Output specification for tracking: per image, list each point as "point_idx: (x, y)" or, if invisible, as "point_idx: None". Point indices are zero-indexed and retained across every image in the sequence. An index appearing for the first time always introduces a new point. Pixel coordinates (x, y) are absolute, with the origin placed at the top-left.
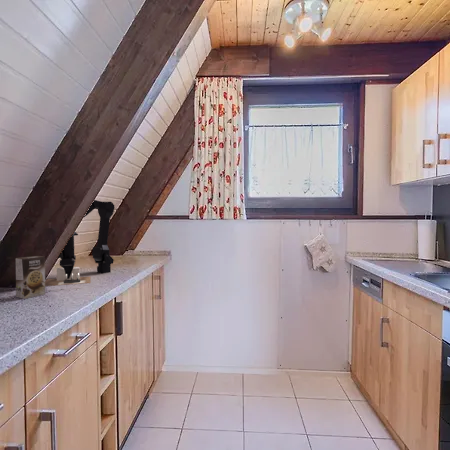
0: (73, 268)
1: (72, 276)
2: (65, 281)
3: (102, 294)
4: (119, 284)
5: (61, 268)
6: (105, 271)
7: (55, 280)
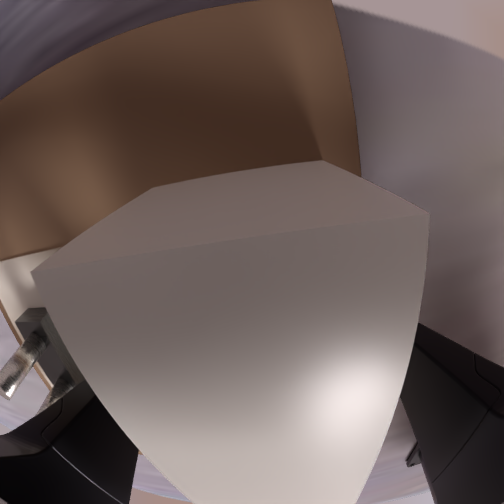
0: (216, 502)
1: None
2: (25, 333)
3: (6, 425)
4: (160, 493)
5: (260, 381)
6: (424, 469)
7: (193, 154)
